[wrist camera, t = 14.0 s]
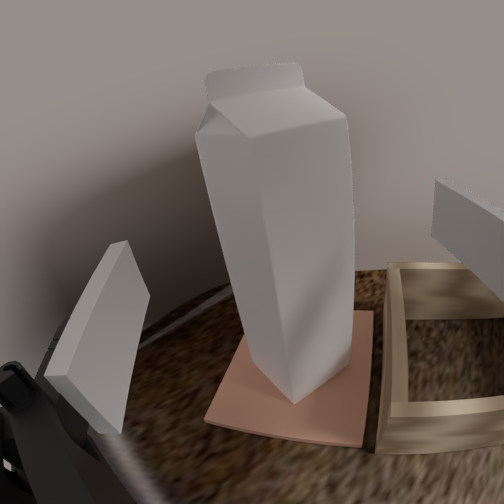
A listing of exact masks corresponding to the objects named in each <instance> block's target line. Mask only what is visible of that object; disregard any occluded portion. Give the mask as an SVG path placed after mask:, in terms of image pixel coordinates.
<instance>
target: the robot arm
mask: <svg viewBox="0 0 504 504" xmlns="http://www.w3.org/2000/svg"><path fill="white" fill-rule="evenodd" d="M434 194H435V195H434V209H433V221H432V230H431V236H432V237H433V238H434V239H436V240H437V241H438V242H439V243H440V244H442V245H443V246H444V247H445V248H447V250H448V251H450V252H451V253H452V254H453V255H454V256H455V257H456V258H458V259H459V260H460V261H461V262H462V263H463V264H464V265H465V266H466V267H467V268H469V269H470V270H471V271H472V272H473V273H474V274H475V275H476V276H477V277H478V278H479V279H480V280H481V281H482V282H483V283H484V284H485V285H486V286H487V287H489V288H490V289H491V290H492V291H493V292H494V293H495V294H496V295H497V296H498V298H499V299H500V300H501V301H502V302H503V303H504V211H503V210H501V209H500V208H498V207H497V206H495V205H493V204H492V203H490V202H488V201H487V200H485V199H483V198H481V197H480V196H478V195H476V194H475V193H473V192H471V191H469V190H467V189H466V188H464V187H462V186H460V185H458V184H456V183H454V182H452V181H451V180H449V179H442V180H435V193H434ZM149 299H150V294H149V292H148V290H147V288H146V285H145V284H144V281H143V278H142V276H141V274H140V271H139V269H138V266H137V264H136V261H135V259H134V256H133V254H132V251H131V249H130V246H129V244H128V241H127V240H126V241H122V242H118V243H114V244H111V245H110V246H109V248H108V249H107V251H106V253H105V255H104V256H103V258H102V260H101V261H100V263H99V265H98V266H97V268H96V270H95V272H94V273H93V275H92V277H91V279H90V281H89V282H88V284H87V286H86V288H85V290H84V292H83V294H82V296H81V297H80V299H79V301H78V303H77V305H76V307H75V309H74V311H73V313H72V315H71V317H67V319H66V320H65V321H64V322H63V323H62V324H61V325H60V326H59V327H58V329H57V331H56V333H55V335H54V337H53V341H52V342H51V344H50V346H49V348H48V349H49V350H48V351H47V352H46V354H45V356H44V359H43V361H42V363H41V365H40V368H39V370H38V372H37V375H36V377H35V379H33V378H32V377H31V376H30V375H29V374H28V372H27V371H26V370H25V369H24V368H23V366H22V365H21V364H20V363H19V362H16V361H12V362H8V363H6V364H4V365H3V366H1V367H0V404H1V405H2V406H3V407H0V504H136V502H135V501H134V500H133V499H132V497H131V496H130V495H129V493H128V492H127V491H126V489H125V488H124V487H123V485H122V484H121V482H120V481H119V480H118V478H117V477H116V475H115V474H114V472H113V471H112V469H111V468H110V466H109V465H108V463H107V462H106V460H105V459H104V457H103V456H102V454H101V452H100V451H99V449H98V447H97V446H96V444H95V442H94V441H93V439H92V438H91V437H90V436H89V435H88V434H87V430H88V426H89V424H90V425H91V426H92V427H93V428H94V429H95V430H96V431H97V432H98V433H99V434H121V432H122V426H123V420H124V414H125V408H126V402H127V397H128V392H129V386H130V381H131V376H132V371H133V366H134V362H135V357H136V353H137V348H138V344H139V339H140V335H141V331H142V327H143V322H144V318H145V314H146V310H147V307H148V302H149ZM3 459H5V460H6V461H7V462H9V463H10V464H11V468H12V469H11V471H9V470H8V469H6V468H5V467H4V464H3Z"/></svg>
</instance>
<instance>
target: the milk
mask: <svg viewBox="0 0 504 504" xmlns="http://www.w3.org/2000/svg"><path fill="white" fill-rule="evenodd" d="M205 86H206V91H207V96H208V101H209V104H208V106H207V108H206V110H205V113H204V115H203V117H202V119H201V122H200V124H199V126H198V128H197V130H196V133H195V140H196V144H197V148H198V152H199V157H200V161H201V166H202V170H203V174H204V178H205V182H206V186H207V191H208V195H209V199H210V202H211V207H212V211H213V215H214V219H215V223H216V226H217V231H218V235H219V239H220V243H221V246H222V251H223V254H224V258H225V262H226V266H227V270H228V273H229V277H230V281H231V285H232V289H233V292H234V296H235V300H236V304H237V307H238V311H239V315H240V318H241V322H242V326H243V329H244V333H245V336H246V340H247V343H248V347H249V351H250V354H251V358H252V361H253V362H254V364H255V365H256V366H257V367H258V368H259V369H260V370H261V371H262V372H263V373H264V374H265V375H266V376H267V377H268V379H269V380H270V381H271V382H272V383H273V384H274V385H275V386H276V387H277V388H278V389H279V390H280V391H281V392H282V393H283V394H284V395H285V396H286V397H287V398H288V399H289V400H290V401H291V402H292V403H293V404H296V403H297V402H299V401H300V400H302V399H303V398H305V397H306V396H307V395H309V394H310V393H312V392H313V391H314V390H316V389H317V388H319V387H320V386H321V385H323V384H324V383H325V382H327V381H328V380H329V379H331V378H332V377H333V376H335V375H336V374H337V373H338V372H340V371H341V370H342V369H344V368H345V367H346V366H347V365H349V364H350V357H351V344H352V329H353V310H354V279H355V232H354V199H353V181H352V165H351V152H350V141H349V130H348V122H347V116H346V115H345V114H343V113H342V112H340V111H339V110H338V109H336V108H335V107H334V106H332V105H331V104H329V103H328V102H327V101H325V100H324V99H322V98H321V97H319V96H318V95H316V94H315V93H313V92H312V91H310V90H309V89H307V88H306V87H305V83H304V78H303V73H302V68H301V66H300V65H299V64H298V63H282V64H269V65H258V66H248V67H240V68H233V69H225V70H219V71H213V72H209V73H207V74H206V76H205Z"/></svg>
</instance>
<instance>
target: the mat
mask: <svg viewBox="0 0 504 504" xmlns="http://www.w3.org/2000/svg"><path fill="white" fill-rule="evenodd" d="M372 343H373V311H358V310H353V329H352V344H351V357H350V364H349V365H347V366H346V367H345V368H344V369H342V370H341V371H340V372H338V373H337V374H336V375H335V376H333V377H332V378H331V379H329V380H328V381H327V382H325V383H324V384H323V385H321V386H320V387H319V388H317V389H316V390H314V391H313V392H312V393H310V394H309V395H307V396H306V397H305V398H303V399H302V400H300V401H299V402H297V403H296V404H293V403H292V402H291V401H290V400H289V399H288V398H287V397H286V396H285V395H284V394H283V393H282V392H281V391H280V390H279V389H278V388H277V387H276V386H275V385H274V384H273V383H272V382H271V381H270V380H269V379H268V377H267V376H266V375H265V374H264V373H263V372H262V371H261V370H260V369H259V368H258V367H257V366H256V365H255V364H254V362H253V361H252V358H251V354H250V351H249V347H248V343H247V340H246V336H245V333H244V335H243V338H242V340H241V342H240V344H239V346H238V348H237V350H236V353H235V355H234V357H233V359H232V361H231V363H230V365H229V367H228V369H227V372H226V374H225V376H224V378H223V380H222V382H221V384H220V386H219V388H218V390H217V392H216V395H215V397H214V399H213V401H212V403H211V405H210V407H209V409H208V411H207V413H206V415H205V417H204V420H205V422H206V423H210V424H213V425H217V426H221V427H225V428H229V429H234V430H238V431H243V432H247V433H252V434H257V435H262V436H267V437H273V438H279V439H285V440H291V441H298V442H306V443H314V444H322V445H333V446H345V447H362V443H363V437H364V430H365V422H366V415H367V406H368V397H369V386H370V375H371V361H372Z"/></svg>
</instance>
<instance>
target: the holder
mask: <svg viewBox="0 0 504 504" xmlns="http://www.w3.org/2000/svg"><path fill="white" fill-rule="evenodd" d="M484 318H504V303H503V302H502V301H501V300H500V299H499V298H498V296H497V295H496V294H495V293H494V292H493V291H492V290H491V289H490V288H489V287H487V286H486V285H485V284H484V283H483V282H482V281H481V280H480V279H479V278H478V277H477V276H476V275H475V274H474V273H473V272H472V271H471V270H470V269H469V268H467V267H466V266H465V265H464V264H463V263H424V262H423V263H422V262H420V263H419V262H388V267H387V277H386V288H385V297H384V306H383V353H382V378H381V394H380V407H379V418H378V428H377V436H376V444H375V452H374V454H427V453H441V452H452V451H462V450H470V449H477V448H484V447H490V446H495V445H501V444H504V395H501V396H494V397H485V398H476V399H465V400H451V401H429V402H408V357H407V338H406V324H405V320H444V319H484Z"/></svg>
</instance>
